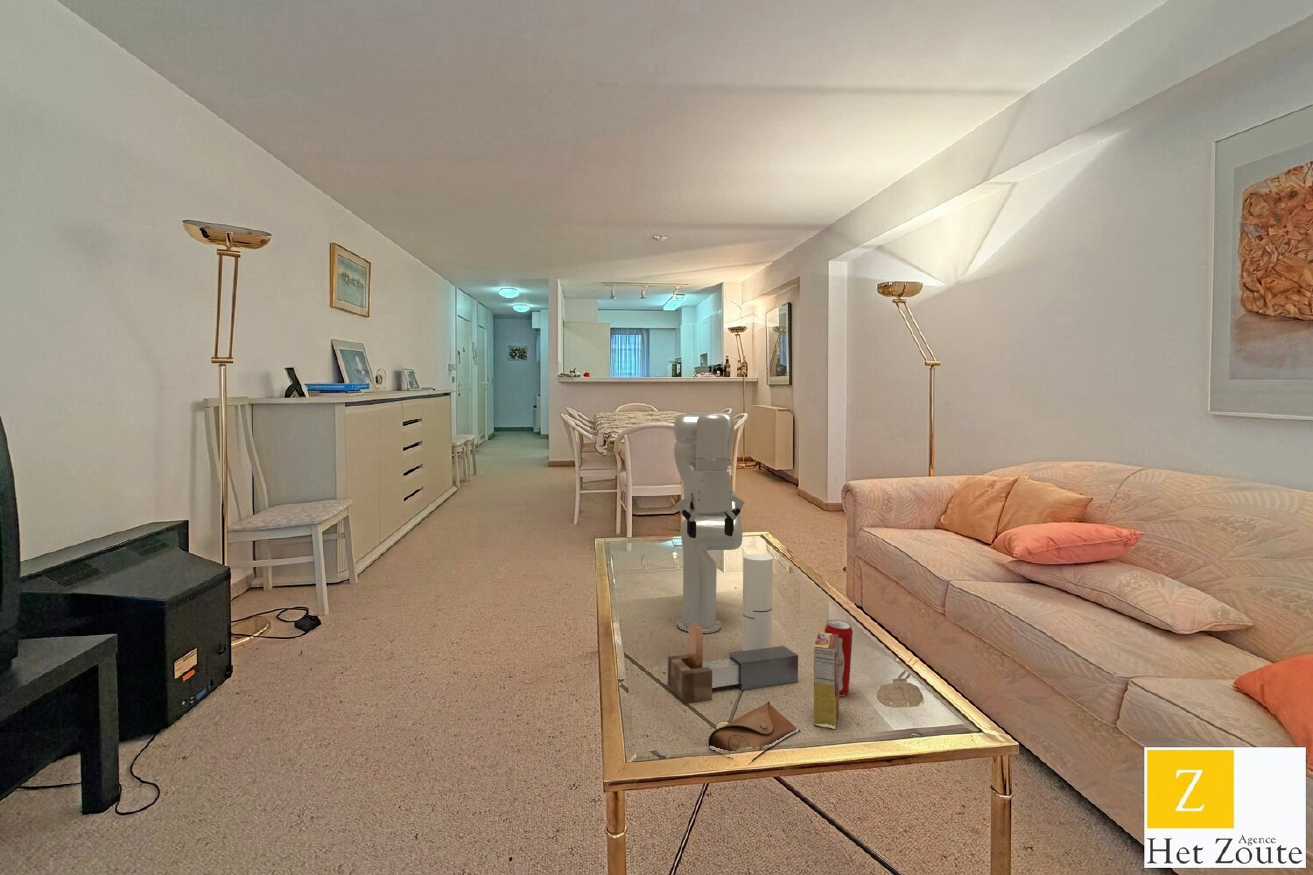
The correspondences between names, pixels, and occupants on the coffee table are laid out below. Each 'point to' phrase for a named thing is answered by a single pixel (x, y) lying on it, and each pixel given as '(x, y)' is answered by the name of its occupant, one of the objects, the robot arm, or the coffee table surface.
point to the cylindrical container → (757, 602)
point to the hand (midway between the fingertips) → (710, 536)
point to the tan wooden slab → (721, 670)
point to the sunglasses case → (752, 730)
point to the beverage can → (842, 651)
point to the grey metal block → (766, 667)
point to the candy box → (826, 679)
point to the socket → (689, 680)
